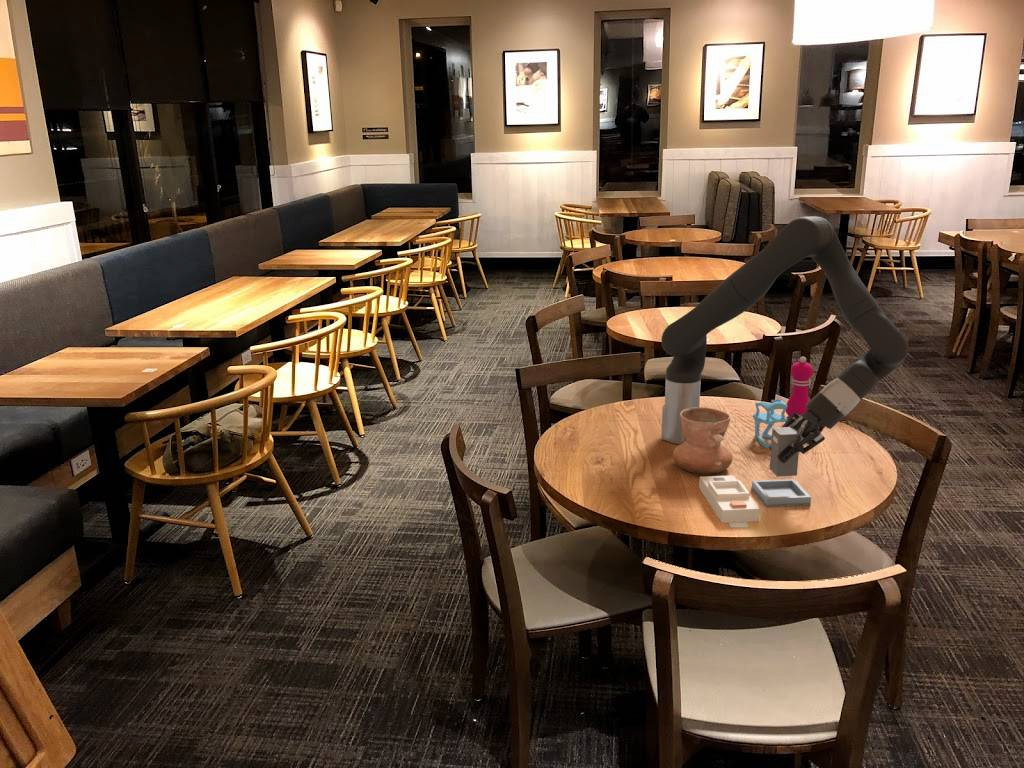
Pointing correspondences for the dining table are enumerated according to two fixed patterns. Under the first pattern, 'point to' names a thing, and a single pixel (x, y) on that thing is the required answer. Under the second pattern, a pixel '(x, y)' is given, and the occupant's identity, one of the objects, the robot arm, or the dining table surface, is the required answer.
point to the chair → (768, 418)
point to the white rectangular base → (729, 499)
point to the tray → (781, 493)
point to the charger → (778, 444)
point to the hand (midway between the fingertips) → (776, 455)
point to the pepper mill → (799, 387)
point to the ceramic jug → (703, 441)
